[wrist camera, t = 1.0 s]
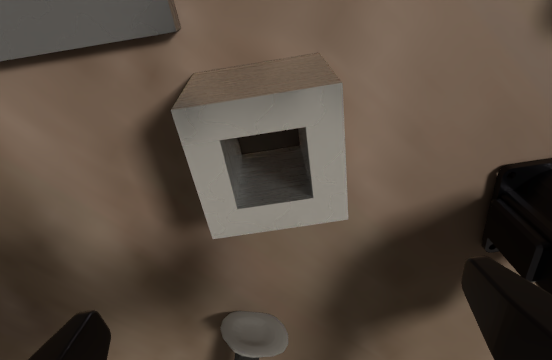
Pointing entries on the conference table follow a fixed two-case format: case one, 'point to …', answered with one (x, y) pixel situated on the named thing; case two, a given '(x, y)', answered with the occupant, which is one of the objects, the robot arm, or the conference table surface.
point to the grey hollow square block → (272, 163)
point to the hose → (254, 335)
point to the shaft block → (79, 24)
